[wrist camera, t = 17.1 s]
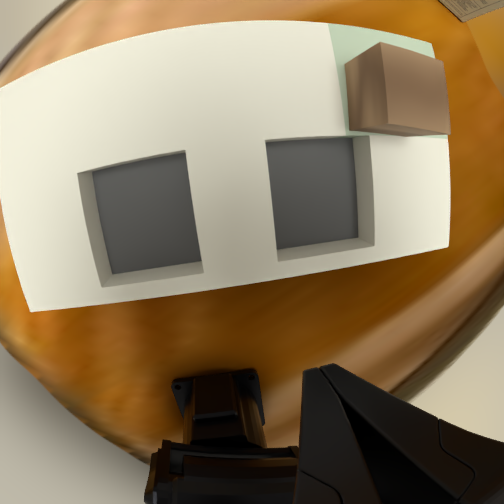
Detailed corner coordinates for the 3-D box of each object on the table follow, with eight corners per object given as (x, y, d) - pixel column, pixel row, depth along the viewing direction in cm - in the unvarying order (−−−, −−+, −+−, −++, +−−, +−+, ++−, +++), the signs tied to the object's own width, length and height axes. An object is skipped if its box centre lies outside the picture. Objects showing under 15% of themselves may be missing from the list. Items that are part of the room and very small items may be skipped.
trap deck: (427, 238, 20) (448, 246, 18) (46, 296, 17) (30, 311, 15) (411, 51, 16) (431, 43, 14) (14, 96, 13) (-6, 91, 11)
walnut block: (406, 136, 15) (450, 134, 11) (349, 130, 15) (388, 123, 11) (401, 75, 14) (443, 61, 10) (344, 64, 14) (379, 41, 10)
